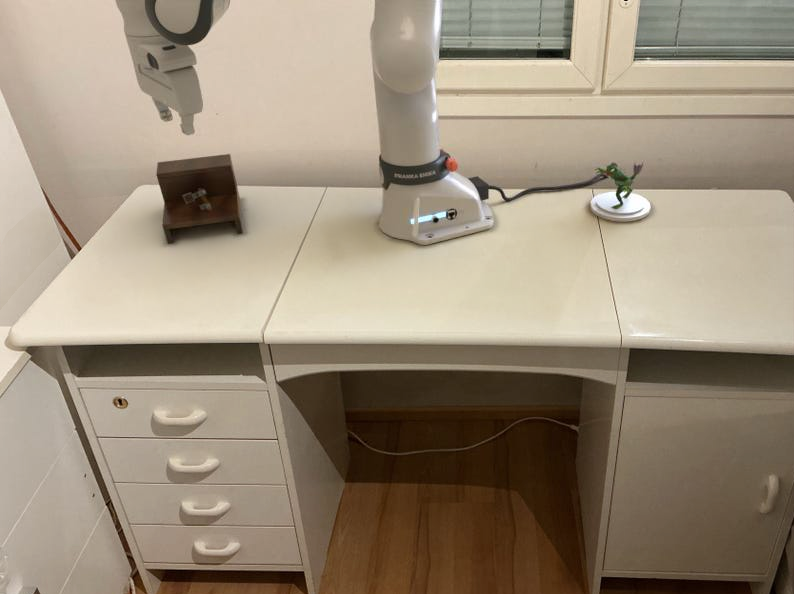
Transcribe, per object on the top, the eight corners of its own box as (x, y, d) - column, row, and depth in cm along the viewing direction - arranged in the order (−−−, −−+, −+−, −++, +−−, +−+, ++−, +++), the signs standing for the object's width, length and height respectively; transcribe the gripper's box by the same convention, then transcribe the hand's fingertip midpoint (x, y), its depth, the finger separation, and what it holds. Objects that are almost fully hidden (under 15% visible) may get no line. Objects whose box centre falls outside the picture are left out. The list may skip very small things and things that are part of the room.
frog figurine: (579, 202, 159) (582, 154, 152) (628, 191, 163) (633, 144, 156) (610, 226, 150) (615, 177, 144) (661, 214, 154) (668, 165, 148)
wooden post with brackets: (208, 211, 146) (198, 189, 145) (191, 216, 152) (181, 194, 151) (216, 208, 147) (206, 185, 146) (199, 213, 153) (189, 191, 152)
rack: (240, 199, 162) (230, 153, 156) (243, 233, 150) (232, 185, 144) (170, 208, 159) (157, 162, 153) (167, 244, 147) (153, 195, 141)
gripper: (116, 40, 137) (138, 116, 145) (163, 64, 124) (184, 146, 133) (150, 33, 140) (170, 108, 148) (199, 56, 128) (218, 137, 136)
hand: (177, 126), depth 140 cm, fingers open, 8 cm apart
